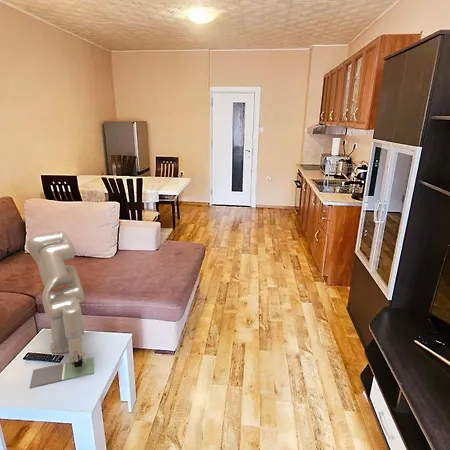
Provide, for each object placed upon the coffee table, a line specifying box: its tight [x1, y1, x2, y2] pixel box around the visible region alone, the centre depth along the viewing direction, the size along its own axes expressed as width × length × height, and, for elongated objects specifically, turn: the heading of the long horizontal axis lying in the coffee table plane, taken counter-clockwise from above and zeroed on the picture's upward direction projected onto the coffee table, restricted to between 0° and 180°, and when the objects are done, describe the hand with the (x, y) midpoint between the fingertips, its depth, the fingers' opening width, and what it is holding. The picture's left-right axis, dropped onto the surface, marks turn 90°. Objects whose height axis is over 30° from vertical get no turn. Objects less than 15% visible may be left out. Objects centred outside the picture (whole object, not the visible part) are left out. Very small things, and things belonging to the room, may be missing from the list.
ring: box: [69, 352, 87, 366], centre depth 151 cm, size 7×3×8 cm, turn 106°
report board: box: [29, 357, 95, 389], centre depth 151 cm, size 11×26×1 cm, turn 111°
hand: (78, 364), depth 152 cm, fingers closed on ring, 1 cm apart
